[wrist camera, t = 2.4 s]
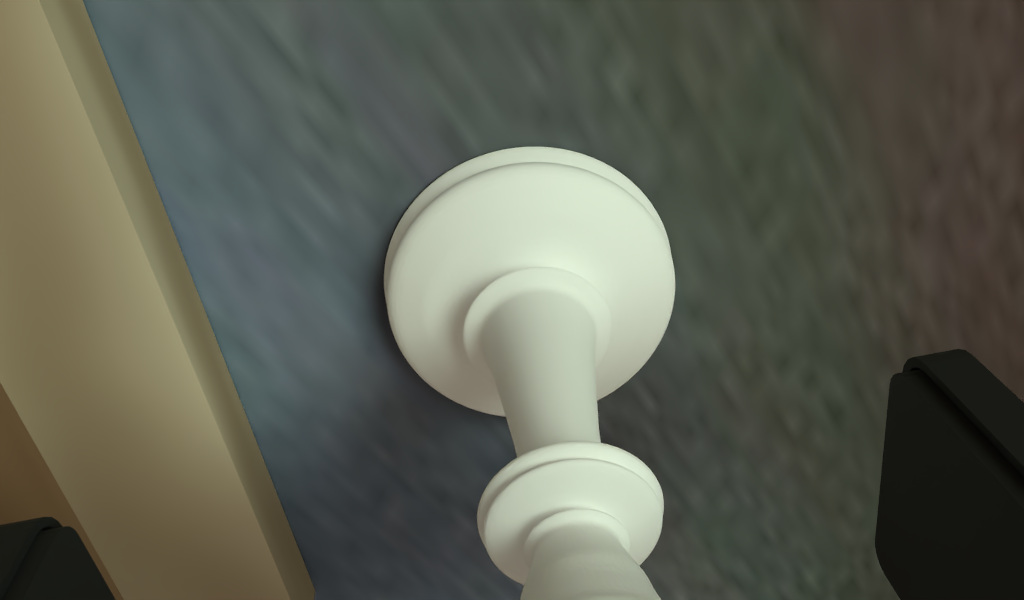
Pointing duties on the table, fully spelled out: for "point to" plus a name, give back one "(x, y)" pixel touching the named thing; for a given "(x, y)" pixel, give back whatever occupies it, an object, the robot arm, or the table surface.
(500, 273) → the chess piece
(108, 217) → the pintle board
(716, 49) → the table surface
